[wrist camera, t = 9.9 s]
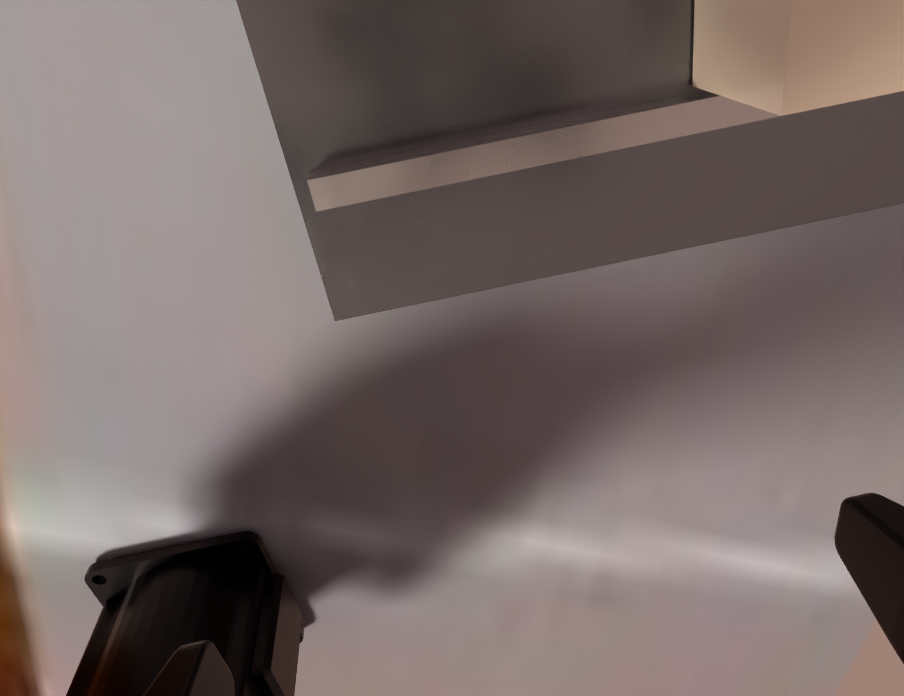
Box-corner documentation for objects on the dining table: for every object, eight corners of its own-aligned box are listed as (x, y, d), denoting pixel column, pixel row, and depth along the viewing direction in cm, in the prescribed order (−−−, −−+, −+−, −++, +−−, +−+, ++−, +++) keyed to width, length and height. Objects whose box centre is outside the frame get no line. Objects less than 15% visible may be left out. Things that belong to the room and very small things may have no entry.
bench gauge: (336, 302, 19) (327, 400, 15) (165, -268, 13) (53, -403, 8) (938, 178, 19) (1107, 237, 15) (1086, -449, 13) (1470, -677, 8)
